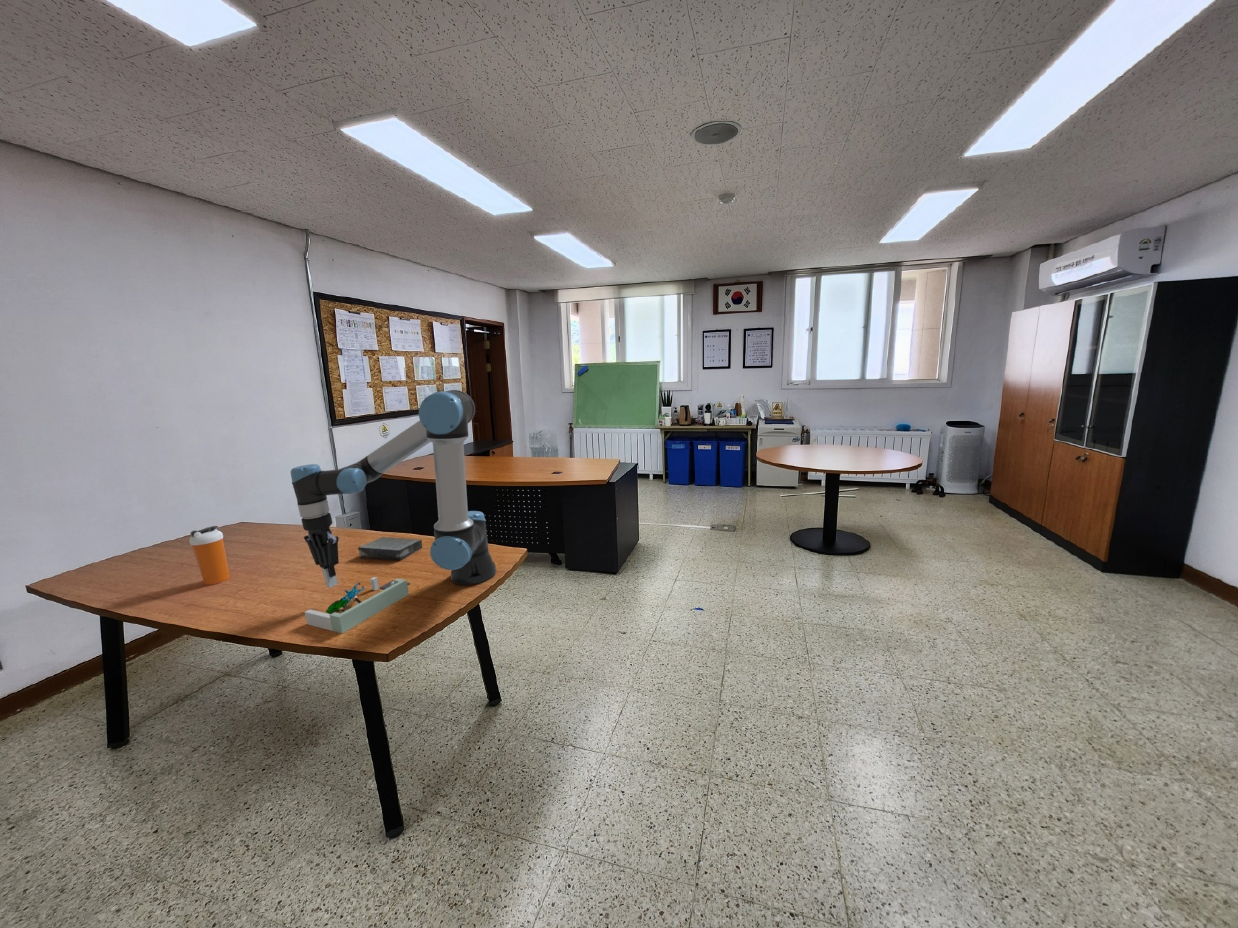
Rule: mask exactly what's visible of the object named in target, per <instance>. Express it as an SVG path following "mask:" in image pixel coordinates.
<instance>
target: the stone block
mask: <svg viewBox="0 0 1238 928" xmlns="http://www.w3.org/2000/svg"><path fill="white" fill-rule="evenodd" d="M421 549H423V541H422V539H417V538H404V537H403V538H402V537H390V536H389V537H387V536H382V537H380V538H377V539H375V540H373V541H370V542H368V543H365V544H363V545H361V546H360V545H359V546H357V550H358V552H359V558H360V559H361V560H362V559H363V560H376V561H379V560H380V561H391V562H393V561H395V562H400V561H403V560H405V559H406V558H409V556H412V555H413V554H414V553H416V552H417V551H418V552H419V550H421Z"/></svg>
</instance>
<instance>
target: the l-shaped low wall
mask: <svg viewBox="0 0 1238 928" xmlns="http://www.w3.org/2000/svg"><path fill="white" fill-rule="evenodd" d="M369 582H370V586H371V590H372V591H377V590H379V589H380V585H379V579H378V577H376V576H373V577H371V578H370V581H369ZM390 582H391V581H390ZM392 585H394V581H393V582H391V586H392ZM330 614H331V613H326V612H323V611H318V610H314V609H307V610H306V611H304V615H305V620H306V621H305V622H306V625H309V626H312V627H315V628H316V627H317V628H320V629H323V630H324V629H325V630H327V631H328V630H329V631H331V632H334V631H333V630H332V625H331V620H330Z"/></svg>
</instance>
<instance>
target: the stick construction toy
mask: <svg viewBox="0 0 1238 928" xmlns="http://www.w3.org/2000/svg"><path fill="white" fill-rule="evenodd" d="M358 585H359V586H360V585H361V583H360V582H357V583H356V584H355V585H353V587H352V588H351V590H350V591H349V590H346V589H344V590H343V591H344V592H345V593H346V594H345V595H344V596H343V597H341V598H340V599H338V600H335V601H334V602H332V603H331V604H330V605H329V606H328V607H327V609H326V610H325V613H327V614H332V613H334V612H336V611H340V612H341V613H343V612H345V611H346V610H345V609H344V608H346V606H348V604H349V603H350V602H351V601H353V602H357V604H359V603H361V602H362V601H361V600H360V599H359V597H358V596H357V595H358V594H359V593H361V592H362V591H363V590H364V589H365V586H361V589H358V588H357V587H358Z"/></svg>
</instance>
